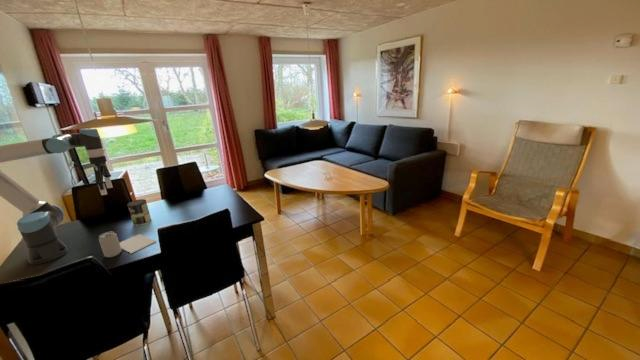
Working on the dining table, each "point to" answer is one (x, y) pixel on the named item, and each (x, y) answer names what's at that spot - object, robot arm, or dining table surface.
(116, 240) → the can
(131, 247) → the mat
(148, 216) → the coffee can
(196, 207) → the dining table surface
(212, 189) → the dining table surface
